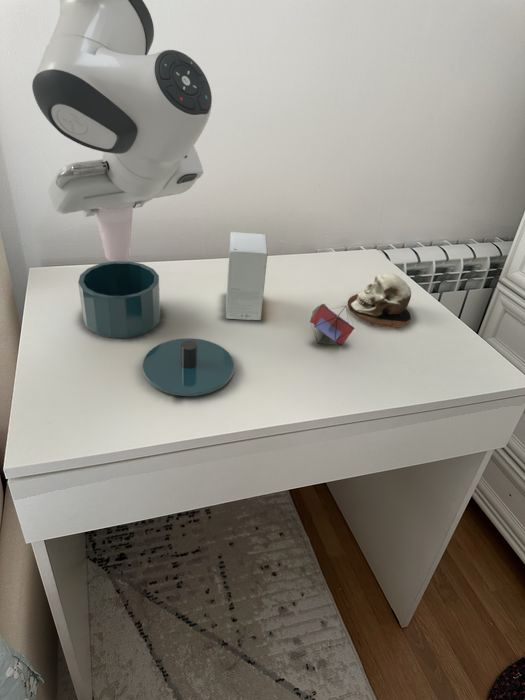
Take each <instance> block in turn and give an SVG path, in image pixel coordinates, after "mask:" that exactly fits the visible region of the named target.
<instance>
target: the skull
mask: <svg viewBox="0 0 525 700" xmlns="http://www.w3.org/2000/svg"><path fill="white" fill-rule="evenodd" d="M411 298H412V290H411V286H410V285H409V284H408V282H406V281H405V280H404V279H403V278H402V277H401V276H399V275H397V274H395V273H393V272H391V273H390V272H386V273H381V274H378V275H375V277H374V282H371V283H368V284H367V285H366V287H365V288H364V290H362V291H360V292H359V293H356V294H354V295H352V296H350V297H349V298H348V300H347V309H348V310H349V311H350V313H352V314H353V315H354V316H356V317H357V318H358V319H360V320H362V321H364V322H366V323H369V324H370V325H371V326H377V327H382V328H390V329H391V328H396V329H397V328H401V327H404V326H407V325H408V324H409V323H411V320H412V315H411V312H410V311H409V310H408V309H407V307H408V306H409V304H410V302H411Z"/></svg>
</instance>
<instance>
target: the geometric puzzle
mask: <svg viewBox="0 0 525 700" xmlns="http://www.w3.org/2000/svg"><path fill="white" fill-rule="evenodd" d="M337 306H338V307H337ZM337 306H336V309H338V308H339V307H341V308H342V307H343V309H342V310H341V311H340V312H339V314H337V313H335V312H334V311H333V310H334V307H332V308H329V307H328V305H327V304H325V303H320V305H318V306H316V308H314V309H313V310H312V311H311V316H310V320H309V322H310V325H311V326H313V327H311V328H312V330H313V335H314V336H315V339H318V337H317V336H316V334H317V333H316V331H315V330H318V332H320V333H322V334H323V335H322V337H321V338H320V340H319V341H316V343H317V345H323V342H321V341H322V340H323V339H324V338H325V336H326V337H327V338H328V339H330V340H331V341H332V342H333V343H336V344H332V343H331V341H329V342H326V344H329V343H330V344H331V345H333V346H334V345H339V346H343V344H344V343H345V342H346V340H347V339H348V338H349V337H350V336H351V334H352V332H353V331H354V330H356V328H355V327H354V326H353V324H354V323H353V320H352V319H350V321H351V323H352V325H351V324H350V323H349V321H347V320H346V319H343V318H342V317H341V314H342V312H343V311H344V309H346V311H347V314H348V315H346V316H347V319H349V317H351V316H350V315H351V314H350V313H349V311H348V307H347V305H340V304H339V305H338V304H337ZM332 309H333V310H332ZM314 329H315V330H314Z"/></svg>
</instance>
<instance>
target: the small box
mask: <svg viewBox="0 0 525 700" xmlns="http://www.w3.org/2000/svg"><path fill="white" fill-rule="evenodd" d="M268 253H269V252H268V244H267V234H265V233H264V234H263V233H253V232H252V233H250V232H239V231H238V232H237V231H230V234H229V250H228V264H227V281H226V297H225V319H227V320H229V319H230V320H243V321H245V320H247V321H261V320H262V315H263V303H264V294H265V293H264V292H265V283H266V274H267V273H266V272H267V263H268Z"/></svg>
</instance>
